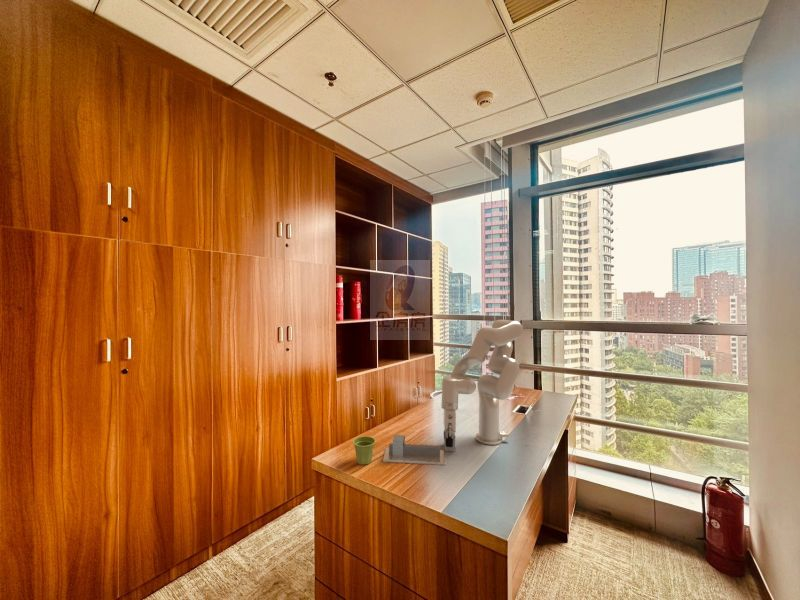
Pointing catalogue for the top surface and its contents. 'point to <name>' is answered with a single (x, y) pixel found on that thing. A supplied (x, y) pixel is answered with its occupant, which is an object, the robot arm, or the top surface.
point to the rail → (413, 453)
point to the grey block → (453, 443)
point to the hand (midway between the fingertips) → (448, 441)
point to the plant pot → (364, 449)
